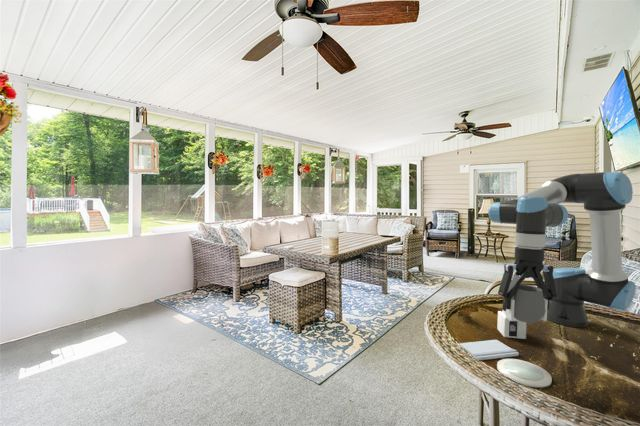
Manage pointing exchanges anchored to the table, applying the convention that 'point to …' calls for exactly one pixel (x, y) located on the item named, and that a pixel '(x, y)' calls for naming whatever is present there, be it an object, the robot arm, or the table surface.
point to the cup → (529, 304)
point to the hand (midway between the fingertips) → (525, 319)
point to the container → (511, 326)
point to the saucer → (524, 372)
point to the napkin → (488, 349)
